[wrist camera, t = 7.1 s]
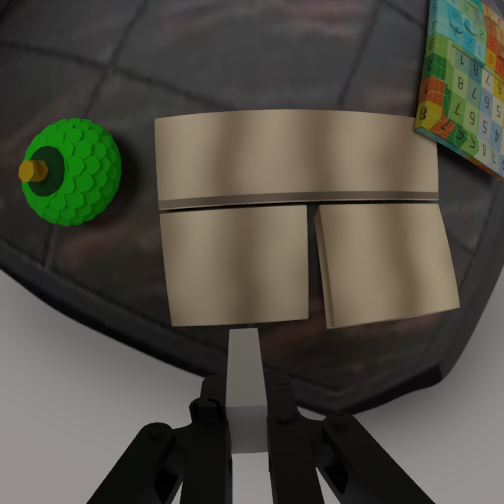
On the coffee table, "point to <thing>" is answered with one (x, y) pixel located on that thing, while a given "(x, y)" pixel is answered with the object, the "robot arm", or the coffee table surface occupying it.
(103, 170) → the ornament
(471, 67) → the puzzle game
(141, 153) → the coffee table surface
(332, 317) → the plank
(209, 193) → the laid board
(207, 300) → the plank
